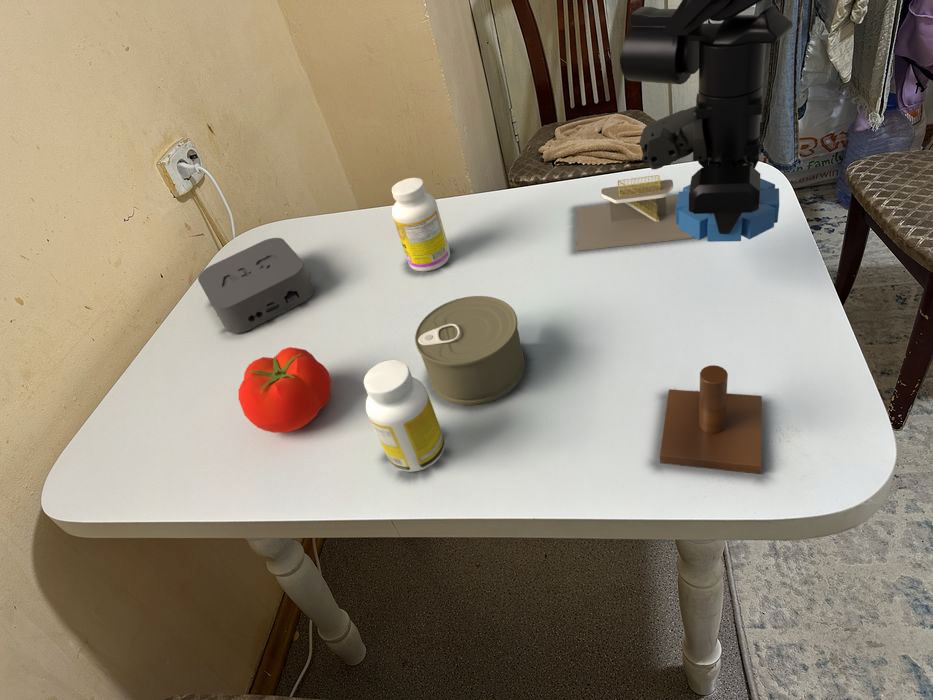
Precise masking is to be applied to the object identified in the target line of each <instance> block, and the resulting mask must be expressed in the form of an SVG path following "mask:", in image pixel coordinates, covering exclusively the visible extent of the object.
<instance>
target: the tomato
mask: <svg viewBox="0 0 933 700" xmlns="http://www.w3.org/2000/svg"><path fill="white" fill-rule="evenodd" d="M331 391H332V378H331V375H330V372H329V371H328V369H327V368H326V366H325V365H324V364H322V363H321V362H320V361H318V360H317V359H316V358H315V356H314V355H313V354H312V353H311V352H309V351H308V350H306V349H302V348H298V347H291V346H289V347H285V348H282V349H281V350H280V351H278V353H277V354H276V355H275V356H273V357H269V356H268V357H267V356H262V357H259V358H258V359H254V360H253V361H252V362H251V363H250V364H248V365H247V367H246V368H245V371H244V373H243V380H242V382H241V384H240V386H239V387H238V402H239V404H240V407H241V409H242V412H243V415H244V416H245V418H246V419H247V420H248V421H249V422H250V423H251V424H253V425H254V426H256V428H258V429H260V430H262V431H264V432H265V431H266V432H270V433H275V434H276V433H289V432H292V431H293V432H294V431H296V430H299V429H301V428H302V427H304V426H306V425H307V424H308V423H310V422H311V421H312V420H313V419H314V418H315V417H316V416H317V415H318V413H319V412H320V410H321V409H323V408H324V407H325V406H326V405H327V404H328V402H329V399H330V397H331Z"/></svg>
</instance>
